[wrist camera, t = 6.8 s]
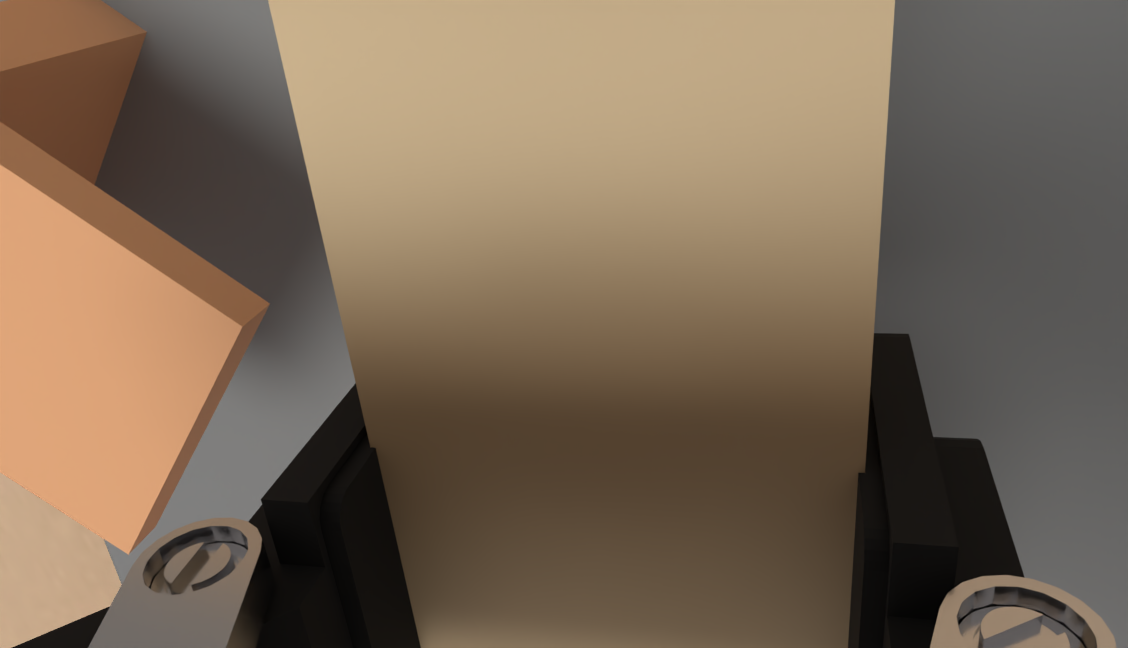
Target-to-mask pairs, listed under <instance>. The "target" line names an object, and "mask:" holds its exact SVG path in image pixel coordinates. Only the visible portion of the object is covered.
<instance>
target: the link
mask: <svg viewBox="0 0 1128 648" xmlns="http://www.w3.org/2000/svg"><path fill="white" fill-rule="evenodd" d="M268 3H269V7H270V11H271V16H272V20H273V24H274V29H275V33H276V37H277V42H278V46H279V51H280V55H281V59H282V64H283V68H284V72H285V77H286V81H287V85H288V90H289V94H290V99H291V103H292V107H293V112H294V116H295V120H296V125H297V129H298V133H299V138H300V142H301V147H302V151H303V155H304V160H305V164H306V168H307V173H308V177H309V181H310V186H311V190H312V195H313V199H314V203H315V208H316V212H317V216H318V221H319V225H320V230H321V234H322V238H323V243H324V247H325V251H326V256H327V260H328V264H329V269H330V273H331V278H332V282H333V286H334V291H335V295H336V299H337V304H338V308H339V312H340V317H341V321H342V326H343V330H344V334H345V339H346V343H347V347H348V352H349V356H350V360H351V365H352V369H353V374H354V378H355V382H356V387H357V391H358V395H359V400H360V404H361V408H362V413H363V417H364V422H365V426H366V430H367V435H368V439H369V443H370V447H373V448H376V451H377V456H378V460H379V465H380V469H381V474H382V478H383V482H384V487H385V491H386V496H387V500H388V504H389V509H390V513H391V518H392V522H393V527H394V531H395V535H396V540H397V544H398V549H399V553H400V558H401V562H402V566H403V571H404V575H405V580H406V584H407V589H408V593H409V597H410V602H411V606H412V611H413V615H414V620H415V624H416V628H417V633H418V637H419V642H420V646H421V648H848V637H849V621H850V604H851V587H852V570H853V554H854V537H855V520H856V503H857V487H858V473H865V464H866V449H867V433H868V417H869V401H870V386H871V370H872V354H873V339H874V323H875V307H876V292H877V276H878V260H879V245H880V229H881V213H882V198H883V182H884V166H885V150H886V135H887V119H888V103H889V88H890V72H891V56H892V41H893V25H894V9H895V0H268Z"/></svg>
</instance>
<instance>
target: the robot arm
mask: <svg viewBox="0 0 1128 648" xmlns="http://www.w3.org/2000/svg"><path fill="white" fill-rule="evenodd" d="M261 502H262V505H261V506H260V508H259V509H258V510H257V511H256V513H255V514H254V515H253V516H252V518H251V519H250V520H249V521H245V520H240V519H236V518H211V519H207V520H202V521H197V522H193V523H191V524H188V525H185V526H183V527H180V528H178V529H175V530H173V531H172V532H170V533H168V534H166V535H165V536H163V537H161V538H159V539H158V540H156V541H155V542H154V543H153V544H152V545H150V546H149V547H148V548H147V549H146V550H144V551H143V552H142V553H141V555H140V556H139V557H138V559H137V560H136V561H135V563H134V564H133V565H132V567H131V569H130V570H129V572H128V574H127V576H126V578H125V580H124V582H123V583H122V585H121V587H120V589H119V591H118V593H117V595H116V597H115V598H114V600H113V602H112V604H111V606H110V607H107V608H105V609H103V610H100V611H98V612H96V613H93V614H91V615H88V616H86V617H84V618H81V619H79V620H77V621H74V622H72V623H70V624H67V625H65V626H62V627H60V628H58V629H55V630H53V631H51V632H48V633H46V634H43V635H41V636H39V637H36V638H34V639H32V640H29V641H27V642H25V643H22V644H20V645H17V646H15V647H13V648H421V646H420V642H419V637H418V633H417V628H416V624H415V620H414V615H413V611H412V606H411V602H410V597H409V593H408V589H407V584H406V580H405V575H404V571H403V566H402V562H401V558H400V553H399V549H398V544H397V540H396V535H395V531H394V527H393V522H392V518H391V513H390V509H389V504H388V500H387V496H386V491H385V487H384V482H383V478H382V474H381V469H380V465H379V460H378V456H377V451H376V448H373V447H370V443H369V439H368V435H367V430H366V426H365V422H364V417H363V413H362V408H361V404H360V400H359V395H358V391H357V387H356V383H355V384H354V386H353V387H352V388H351V389H350V391H349V392H348V393H347V394H346V395H345V397H344V398H343V399H342V400H341V402H340V403H339V404H338V405H337V406H336V408H335V409H334V410H333V411H332V413H331V414H330V415H329V416H328V417H327V419H326V420H325V421H324V422H323V424H322V425H321V426H320V427H319V429H318V430H317V431H316V432H315V433H314V435H313V436H312V437H311V438H310V440H309V441H308V442H307V443H306V444H305V446H304V447H303V448H302V449H301V451H300V452H299V453H298V454H297V455H296V457H295V458H294V459H293V460H292V462H291V463H290V464H289V465H288V467H287V468H286V469H285V470H284V471H283V473H282V474H281V475H280V476H279V478H278V479H277V480H276V481H275V482H274V484H273V485H272V486H271V487H270V489H269V490H268V491H267V492H266V494H265V495H264V496H263V497H262V498H261ZM848 648H1117V647H1116V642H1115V638H1114V636H1113V634H1112V633H1111V631H1110V630H1109V628H1108V627H1107V625H1106V624H1105V622H1104V621H1103V619H1102V618H1101V617H1100V616H1099V615H1098V614H1097V613H1095V612H1094V611H1093V610H1092V609H1091V608H1090V607H1088V606H1087V605H1086V604H1085V603H1084V602H1083V601H1081V600H1079V599H1078V598H1076V597H1074V596H1072V595H1071V594H1069V593H1067V592H1065V591H1063V590H1062V589H1060V588H1058V587H1055V586H1052V585H1049V584H1046V583H1043V582H1040V581H1037V580H1034V579H1030V578H1025V577H1024V574H1023V571H1022V567H1021V564H1020V561H1019V558H1018V555H1017V552H1016V548H1015V545H1014V542H1013V539H1012V536H1011V532H1010V529H1009V526H1008V523H1007V520H1006V517H1005V513H1004V510H1003V507H1002V504H1001V501H1000V498H999V494H998V491H997V488H996V485H995V482H994V478H993V475H992V472H991V469H990V466H989V463H988V459H987V456H986V453H985V450H984V447H983V445H982V443H981V441H980V440H979V439H973V438H949V437H933V434H932V430H931V425H930V421H929V417H928V413H927V408H926V404H925V400H924V396H923V391H922V387H921V383H920V379H919V374H918V370H917V366H916V362H915V357H914V353H913V349H912V344H911V340H910V336H909V334H896V333H874V339H873V354H872V370H871V386H870V401H869V417H868V433H867V449H866V464H865V473H858V487H857V503H856V520H855V537H854V554H853V570H852V587H851V604H850V621H849V637H848Z"/></svg>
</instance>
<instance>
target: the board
mask: <svg viewBox="0 0 1128 648" xmlns="http://www.w3.org/2000/svg"><path fill="white" fill-rule="evenodd" d="M1 1H6V0H0V2H1ZM101 1H103V2H104V3H106V4H107V5H109V6H110V7H112V8H113V9H114V10H116V11H117V12H119V13H120V14H122V15H123V16H125V17H126V18H128V19H129V20H130V21H132V22H133V23H135V24H136V25H138V26H139V27H141V28H142V29H143V30H145V31H146V32H147V33H146V36H145V39H144V42H143V45H142V48H141V51H140V54H139V56H138V59H137V62H136V65H135V68H134V71H133V74H132V77H131V80H130V83H129V86H128V89H127V91H126V94H125V97H124V100H123V103H122V106H121V109H120V112H119V115H118V118H117V121H116V124H115V126H114V129H113V132H112V135H111V138H110V141H109V144H108V147H107V150H106V153H105V156H104V159H103V161H102V164H101V167H100V170H99V173H98V176H97V179H96V182H95V186H96V187H98V188H99V189H101V190H102V191H104V192H105V193H107V194H108V195H110V196H111V197H113V198H114V199H116V200H117V201H119V202H120V203H122V204H123V205H125V206H126V207H128V208H129V209H130V210H132V211H133V212H135V213H136V214H138V215H139V216H141V217H142V218H144V219H145V220H147V221H148V222H150V223H151V224H153V225H154V226H156V227H157V228H159V229H160V230H162V231H163V232H165V233H166V234H168V235H169V236H171V237H172V238H173V239H175V240H176V241H178V242H179V243H181V244H182V245H184V246H185V247H187V248H188V249H190V250H191V251H193V252H194V253H196V254H197V255H199V256H200V257H202V258H203V259H205V260H206V261H208V262H209V263H211V264H212V265H214V266H215V267H216V268H218V269H219V270H221V271H222V272H224V273H225V274H227V275H228V276H230V277H231V278H233V279H234V280H236V281H237V282H239V283H240V284H242V285H243V286H245V287H246V288H248V289H249V290H251V291H252V292H254V293H255V294H257V295H258V296H259V297H261V298H262V299H264V300H265V301H267V302H268V303H270V305H269V307H268V309H267V311H266V313H265V315H264V317H263V319H262V321H261V322H260V324H259V326H258V328H257V330H256V332H255V334H254V336H253V338H252V340H251V342H250V344H249V346H248V348H247V350H246V352H245V354H244V356H243V358H242V360H241V362H240V363H239V365H238V367H237V369H236V371H235V373H234V375H233V377H232V379H231V381H230V383H229V385H228V387H227V389H226V391H225V393H224V395H223V397H222V399H221V401H220V402H219V404H218V406H217V408H216V410H215V412H214V414H213V416H212V418H211V420H210V422H209V424H208V426H207V428H206V430H205V432H204V434H203V436H202V438H201V440H200V441H199V443H198V445H197V447H196V449H195V451H194V453H193V455H192V457H191V459H190V461H189V463H188V465H187V467H186V469H185V471H184V473H183V475H182V477H181V479H180V480H179V482H178V484H177V486H176V488H175V490H174V492H173V494H172V496H171V498H170V500H169V502H168V504H167V506H166V508H165V510H164V512H163V514H162V516H161V518H160V519H159V521H158V523H157V525H156V527H155V528H154V529H153V530H152V531H151V532H150V533H149V534H148V535H147V536H146V537H145V538H144V539H143V540H142V541H141V542H140V543H139V544H138V545H137V546H136V547H135V549H134V550H133V551H132V552H131V553H130V554H129V555H128V554H127V553H125V552H123V551H122V550H120V549H119V548H117V547H116V546H114V545H113V544H111V543H109V542H108V541H106V540H105V539H104V541H105V544H106V546H107V549H108V551H109V554H110V556H111V559H112V561H113V564H114V566H115V569H116V571H117V574H118V576H119V579H120V581H121V584H122V583H123V582H124V580H125V578H126V576H127V574H128V572H129V570H130V569H131V567H132V565H133V564H134V563H135V561H136V560H137V559H138V557H139V556H140V555H141V553H142V552H143V551H144V550H146V549H147V548H148V547H149V546H150V545H152V544H153V543H154V542H155V541H156V540H158V539H159V538H161V537H163V536H165V535H166V534H168V533H170V532H172V531H173V530H175V529H178V528H180V527H183V526H185V525H188V524H191V523H193V522H197V521H202V520H207V519H211V518H236V519H240V520H245V521H249V520H250V519H251V518H252V516H253V515H254V514H255V513H256V511H257V510H258V509H259V508H260V506H261V505H262V502H261V498H262V497H263V496H264V495H265V494H266V492H267V491H268V490H269V489H270V487H271V486H272V485H273V484H274V482H275V481H276V480H277V479H278V478H279V476H280V475H281V474H282V473H283V471H284V470H285V469H286V468H287V467H288V465H289V464H290V463H291V462H292V460H293V459H294V458H295V457H296V455H297V454H298V453H299V452H300V451H301V449H302V448H303V447H304V446H305V444H306V443H307V442H308V441H309V440H310V438H311V437H312V436H313V435H314V433H315V432H316V431H317V430H318V429H319V427H320V426H321V425H322V424H323V422H324V421H325V420H326V419H327V417H328V416H329V415H330V414H331V413H332V411H333V410H334V409H335V408H336V406H337V405H338V404H339V403H340V402H341V400H342V399H343V398H344V397H345V395H346V394H347V393H348V392H349V391H350V389H351V388H352V387H353V386H354V384H355V383H356V382H355V378H354V374H353V369H352V365H351V360H350V356H349V352H348V347H347V343H346V339H345V334H344V330H343V326H342V321H341V317H340V312H339V308H338V304H337V299H336V295H335V291H334V286H333V282H332V278H331V273H330V269H329V264H328V260H327V256H326V251H325V247H324V243H323V238H322V234H321V230H320V225H319V221H318V216H317V212H316V208H315V203H314V199H313V195H312V190H311V186H310V181H309V177H308V173H307V168H306V164H305V160H304V155H303V151H302V147H301V142H300V138H299V133H298V129H297V125H296V120H295V116H294V112H293V107H292V103H291V99H290V94H289V90H288V85H287V81H286V77H285V72H284V68H283V64H282V59H281V55H280V51H279V46H278V42H277V37H276V33H275V29H274V24H273V20H272V16H271V11H270V7H269V3H268V0H101ZM874 333H896V334H909V336H910V340H911V344H912V349H913V353H914V357H915V362H916V366H917V370H918V374H919V379H920V383H921V387H922V391H923V396H924V400H925V404H926V408H927V413H928V417H929V421H930V425H931V430H932V434H933V437H949V438H973V439H979V440H980V441H981V443H982V445H983V447H984V450H985V453H986V456H987V459H988V463H989V466H990V469H991V472H992V475H993V478H994V482H995V485H996V488H997V491H998V494H999V498H1000V501H1001V504H1002V507H1003V510H1004V513H1005V517H1006V520H1007V523H1008V526H1009V529H1010V532H1011V536H1012V539H1013V542H1014V545H1015V548H1016V552H1017V555H1018V558H1019V561H1020V564H1021V567H1022V571H1023V574H1024V577H1025V578H1030V579H1034V580H1037V581H1040V582H1043V583H1046V584H1049V585H1052V586H1055V587H1058V588H1060V589H1062V590H1063V591H1065V592H1067V593H1069V594H1071V595H1072V596H1074V597H1076V598H1078V599H1079V600H1081V601H1083V602H1084V603H1085V604H1086V605H1087V606H1088V607H1090V608H1091V609H1092V610H1093V611H1094V612H1095V613H1097V614H1098V615H1099V616H1100V617H1101V618H1102V619H1103V621H1104V622H1105V624H1106V625H1107V627H1108V628H1109V630H1110V631H1111V633H1112V634H1113V636H1114V638H1115V642H1116V647H1117V648H1128V0H895V9H894V25H893V41H892V56H891V72H890V88H889V103H888V119H887V135H886V150H885V166H884V182H883V198H882V213H881V229H880V245H879V260H878V276H877V292H876V307H875V323H874Z"/></svg>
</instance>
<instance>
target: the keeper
mask: <svg viewBox="0 0 1128 648" xmlns="http://www.w3.org/2000/svg"><path fill="white" fill-rule="evenodd" d="M146 33H147V32H146V31H145V30H143V29H142V28H141V27H139V26H138V25H136V24H135V23H133V22H132V21H130V20H129V19H128V18H126V17H125V16H123V15H122V14H120V13H119V12H117V11H116V10H114V9H113V8H112V7H110V6H109V5H107V4H106V3H104V2H103V1H101V0H6V1H1V2H0V472H1V473H2V474H4V475H5V476H7V477H8V478H10V479H11V480H13V481H15V482H16V483H18V484H19V485H21V486H22V487H24V488H25V489H27V490H29V491H30V492H32V493H33V494H35V495H36V496H38V497H39V498H41V499H43V500H44V501H46V502H47V503H49V504H50V505H52V506H53V507H55V508H57V509H58V510H60V511H61V512H63V513H64V514H66V515H67V516H69V517H71V518H72V519H74V520H75V521H77V522H78V523H80V524H81V525H83V526H85V527H86V528H88V529H89V530H91V531H92V532H94V533H95V534H97V535H99V536H100V537H102V538H103V539H105V540H106V541H108V542H109V543H111V544H113V545H114V546H116V547H117V548H119V549H120V550H122V551H123V552H125V553H127V554H128V555H129V554H130V553H131V552H132V551H133V550H134V549H135V547H136V546H137V545H138V544H139V543H140V542H141V541H142V540H143V539H144V538H145V537H146V536H147V535H148V534H149V533H150V532H151V531H152V530H153V529H154V528H155V527H156V525H157V523H158V521H159V519H160V518H161V516H162V514H163V512H164V510H165V508H166V506H167V504H168V502H169V500H170V498H171V496H172V494H173V492H174V490H175V488H176V486H177V484H178V482H179V480H180V479H181V477H182V475H183V473H184V471H185V469H186V467H187V465H188V463H189V461H190V459H191V457H192V455H193V453H194V451H195V449H196V447H197V445H198V443H199V441H200V440H201V438H202V436H203V434H204V432H205V430H206V428H207V426H208V424H209V422H210V420H211V418H212V416H213V414H214V412H215V410H216V408H217V406H218V404H219V402H220V401H221V399H222V397H223V395H224V393H225V391H226V389H227V387H228V385H229V383H230V381H231V379H232V377H233V375H234V373H235V371H236V369H237V367H238V365H239V363H240V362H241V360H242V358H243V356H244V354H245V352H246V350H247V348H248V346H249V344H250V342H251V340H252V338H253V336H254V334H255V332H256V330H257V328H258V326H259V324H260V322H261V321H262V319H263V317H264V315H265V313H266V311H267V309H268V307H269V305H270V303H268V302H267V301H265V300H264V299H262V298H261V297H259V296H258V295H257V294H255V293H254V292H252V291H251V290H249V289H248V288H246V287H245V286H243V285H242V284H240V283H239V282H237V281H236V280H234V279H233V278H231V277H230V276H228V275H227V274H225V273H224V272H222V271H221V270H219V269H218V268H216V267H215V266H214V265H212V264H211V263H209V262H208V261H206V260H205V259H203V258H202V257H200V256H199V255H197V254H196V253H194V252H193V251H191V250H190V249H188V248H187V247H185V246H184V245H182V244H181V243H179V242H178V241H176V240H175V239H173V238H172V237H171V236H169V235H168V234H166V233H165V232H163V231H162V230H160V229H159V228H157V227H156V226H154V225H153V224H151V223H150V222H148V221H147V220H145V219H144V218H142V217H141V216H139V215H138V214H136V213H135V212H133V211H132V210H130V209H129V208H128V207H126V206H125V205H123V204H122V203H120V202H119V201H117V200H116V199H114V198H113V197H111V196H110V195H108V194H107V193H105V192H104V191H102V190H101V189H99V188H98V187H96V186H95V182H96V179H97V176H98V173H99V170H100V167H101V164H102V161H103V159H104V156H105V153H106V150H107V147H108V144H109V141H110V138H111V135H112V132H113V129H114V126H115V124H116V121H117V118H118V115H119V112H120V109H121V106H122V103H123V100H124V97H125V94H126V91H127V89H128V86H129V83H130V80H131V77H132V74H133V71H134V68H135V65H136V62H137V59H138V56H139V54H140V51H141V48H142V45H143V42H144V39H145V36H146Z"/></svg>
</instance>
